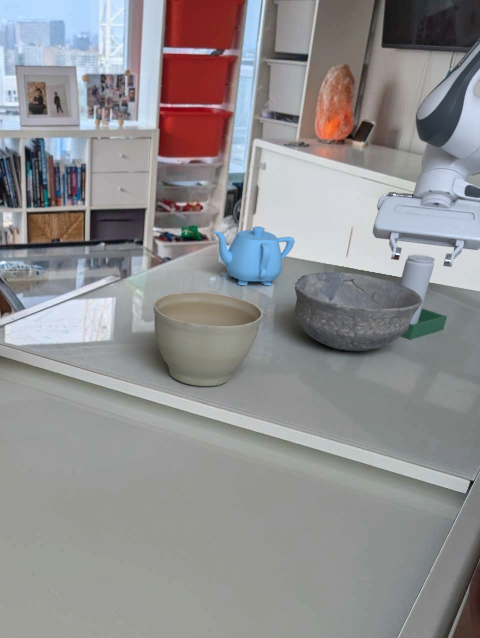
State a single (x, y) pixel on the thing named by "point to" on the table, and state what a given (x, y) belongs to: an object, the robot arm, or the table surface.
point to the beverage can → (417, 277)
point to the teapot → (254, 255)
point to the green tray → (426, 324)
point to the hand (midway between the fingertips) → (421, 261)
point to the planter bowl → (205, 335)
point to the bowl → (353, 309)
